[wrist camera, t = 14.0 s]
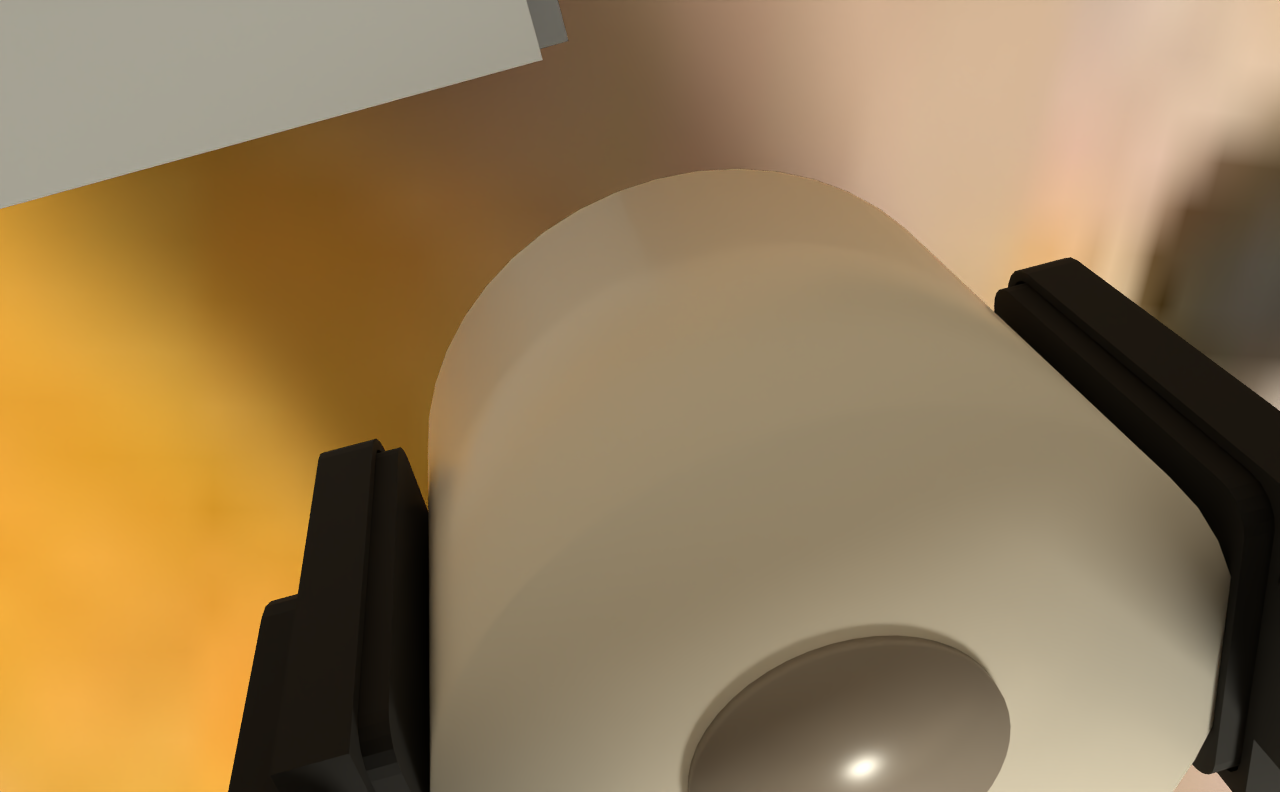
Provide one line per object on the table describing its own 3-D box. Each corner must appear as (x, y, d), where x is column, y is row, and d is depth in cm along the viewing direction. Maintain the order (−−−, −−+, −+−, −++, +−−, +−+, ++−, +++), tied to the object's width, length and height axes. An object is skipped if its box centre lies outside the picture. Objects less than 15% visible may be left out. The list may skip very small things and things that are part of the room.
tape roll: (512, 700, 13) (551, 1095, 9) (345, 258, 10) (294, 571, 6) (980, 569, 13) (1211, 899, 9) (959, 100, 10) (1291, 302, 6)
